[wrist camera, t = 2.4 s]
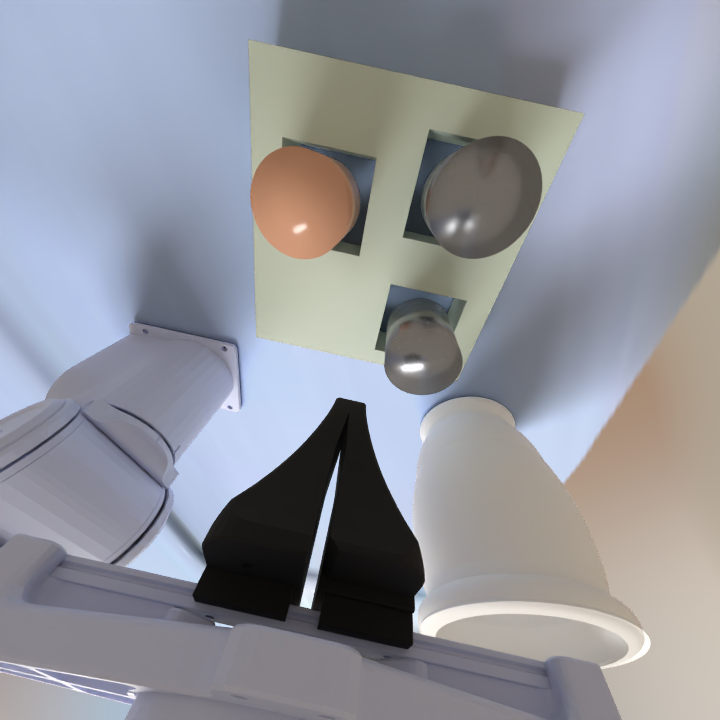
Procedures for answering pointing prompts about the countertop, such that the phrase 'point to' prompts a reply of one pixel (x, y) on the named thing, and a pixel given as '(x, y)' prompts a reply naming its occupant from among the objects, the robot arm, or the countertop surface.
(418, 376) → the grey plug
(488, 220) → the grey plug
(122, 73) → the countertop surface
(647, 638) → the jar
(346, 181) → the terracotta plug
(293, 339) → the socket board
